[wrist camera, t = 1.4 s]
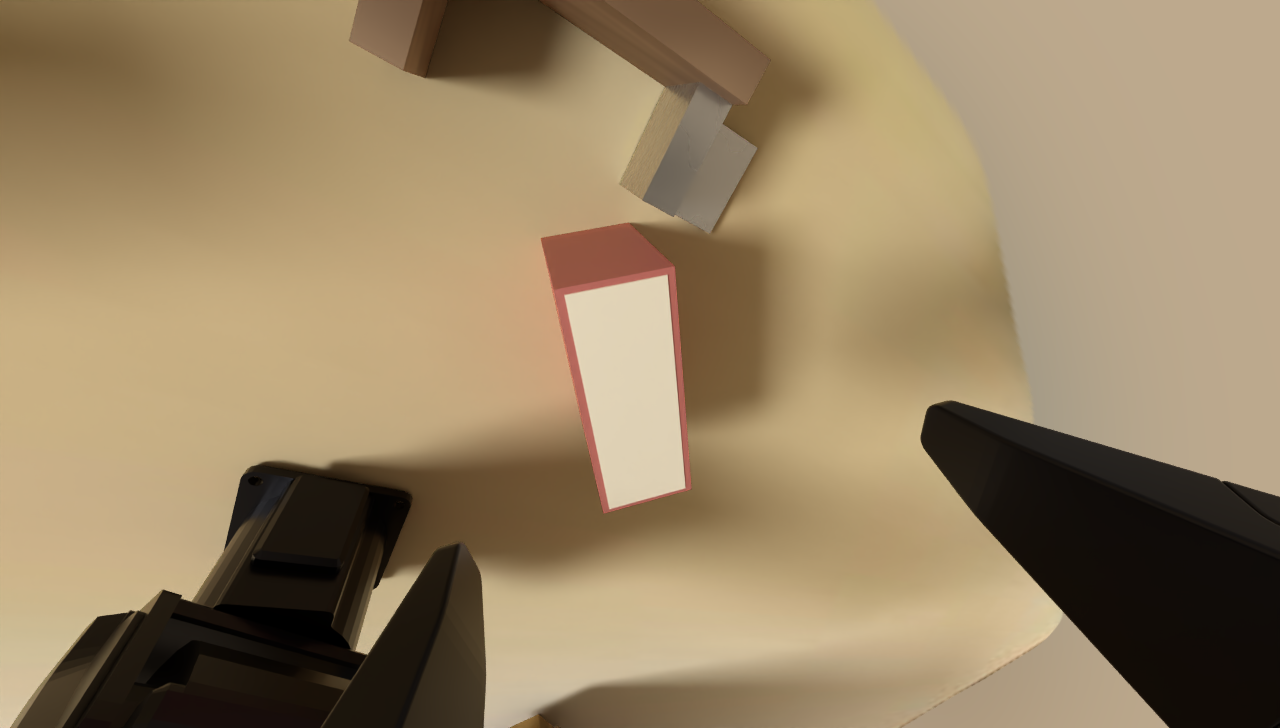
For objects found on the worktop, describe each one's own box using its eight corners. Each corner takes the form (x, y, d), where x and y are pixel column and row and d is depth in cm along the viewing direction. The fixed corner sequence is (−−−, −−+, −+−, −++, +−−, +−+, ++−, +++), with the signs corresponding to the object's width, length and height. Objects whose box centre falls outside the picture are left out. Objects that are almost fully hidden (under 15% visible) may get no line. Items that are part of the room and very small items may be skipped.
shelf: (646, 198, 18) (683, 223, 14) (383, 55, 14) (335, 35, 10) (709, 71, 16) (770, 59, 12) (432, -132, 12) (397, -241, 8)
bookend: (707, 231, 19) (743, 255, 16) (619, 184, 17) (641, 200, 14) (754, 147, 18) (802, 155, 15) (665, 86, 16) (700, 81, 13)
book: (650, 404, 23) (691, 490, 18) (581, 421, 22) (603, 514, 17) (627, 222, 18) (675, 266, 13) (540, 237, 18) (553, 290, 12)
